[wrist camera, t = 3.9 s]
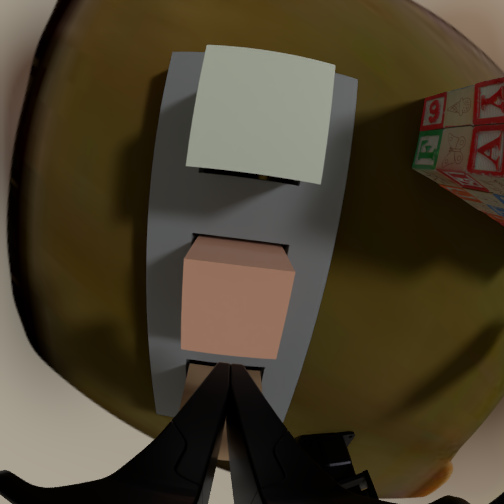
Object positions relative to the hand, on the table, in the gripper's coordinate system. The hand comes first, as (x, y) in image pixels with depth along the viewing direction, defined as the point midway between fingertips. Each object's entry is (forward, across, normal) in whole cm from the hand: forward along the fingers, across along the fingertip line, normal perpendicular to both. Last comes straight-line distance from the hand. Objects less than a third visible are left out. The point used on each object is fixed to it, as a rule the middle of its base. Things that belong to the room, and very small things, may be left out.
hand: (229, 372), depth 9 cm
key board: (+10, 0, 0) cm, 10 cm away
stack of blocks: (+10, -22, -10) cm, 27 cm away
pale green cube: (+8, 0, -9) cm, 12 cm away
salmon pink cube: (+9, 0, 0) cm, 9 cm away
